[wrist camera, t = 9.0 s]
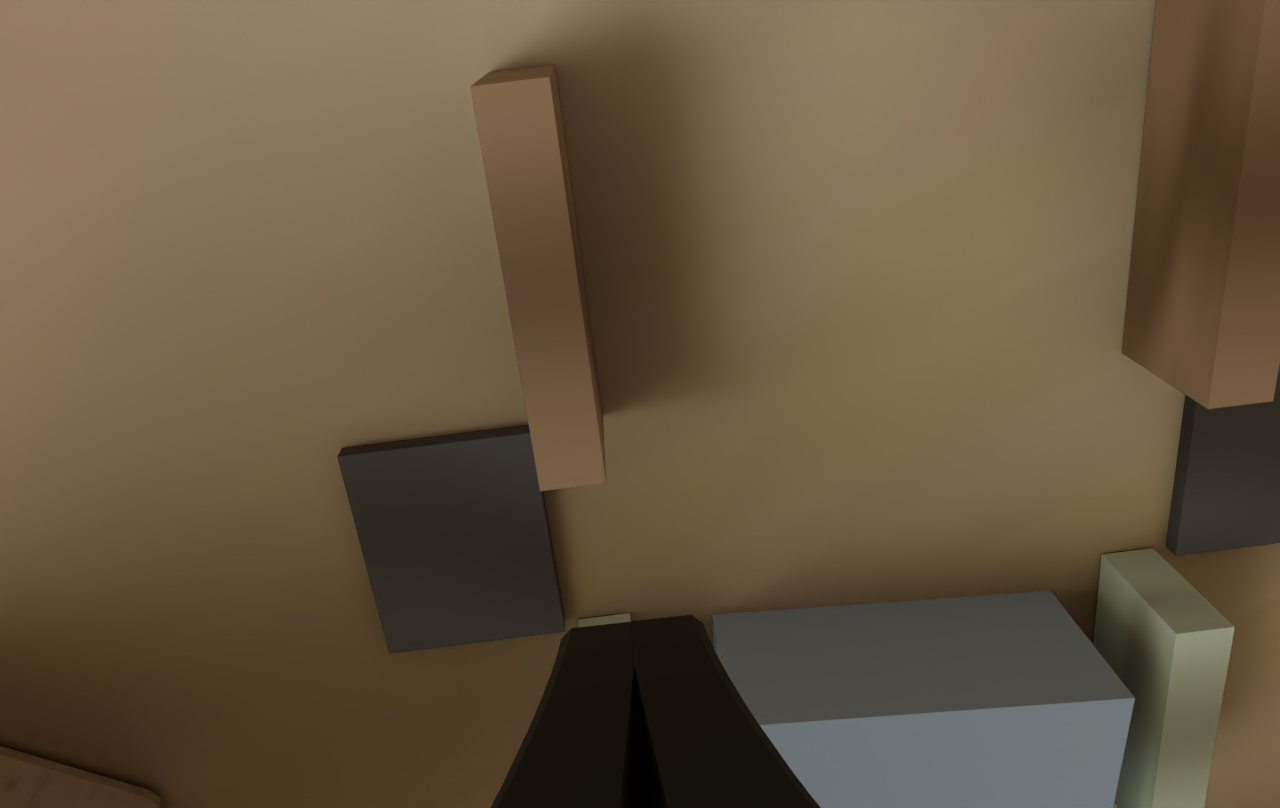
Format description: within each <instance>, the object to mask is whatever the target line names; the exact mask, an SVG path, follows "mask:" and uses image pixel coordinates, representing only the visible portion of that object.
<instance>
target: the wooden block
mask: <svg viewBox="0 0 1280 808" xmlns="http://www.w3.org/2000/svg"><path fill="white" fill-rule="evenodd" d="M0 808H160V797H159V796H157V795H156V794H155V793H153V792H152V791H151V790H149V789H145V788H142V787H138V786H135V785H132V784H128V783H125V782H121V781H118V780H115V779H111V778H108V777H104V776H101V775H98V774H94V773H91V772H87V771H84V770H81V769H77V768H74V767H70V766H67V765H64V764H60V763H57V762H54V761H50V760H47V759H43V758H40V757H37V756H33V755H30V754H26V753H23V752H20V751H16V750H13V749H9V748H6V747H3V746H0Z"/></svg>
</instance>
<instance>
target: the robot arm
mask: <svg viewBox="0 0 1280 808" xmlns="http://www.w3.org/2000/svg"><path fill="white" fill-rule="evenodd" d="M491 808H821V807H820V806H819V805H818V804H817V802H816V801H815V800H814V799H813V798H812V796H811V795H810V794H809V792H808V791H807V790H806V788H805V787H804V786H803V785H802V783H801V782H800V781H799V779H798V778H797V777H796V775H795V774H794V773H793V771H792V770H791V769H790V767H789V766H788V765H787V763H786V762H785V760H784V759H783V757H782V756H781V755H780V753H779V752H778V750H777V749H776V748H775V746H774V745H773V743H772V742H771V740H770V739H769V738H768V736H767V735H766V733H765V732H764V731H763V729H762V728H761V726H760V725H759V724H758V722H757V721H756V719H755V718H754V716H753V714H752V713H751V711H750V710H749V708H748V707H747V705H746V704H745V702H744V701H743V699H742V697H741V696H740V694H739V692H738V691H737V689H736V687H735V686H734V684H733V682H732V681H731V679H730V677H729V676H728V674H727V672H726V670H725V669H724V667H723V665H722V663H721V662H720V660H719V658H718V656H717V654H716V652H715V650H714V648H713V646H712V644H711V642H710V639H709V637H708V635H707V633H706V630H705V627H704V624H703V623H702V622H700V621H699V620H698V619H696V618H695V617H694V616H693V615H686V616H677V617H668V618H659V619H650V620H641V621H632V623H631V622H623V623H614V624H605V625H595V626H586V627H577V628H571V629H570V630H569V631H568V632H567V634H566V635H565V636H564V637H563V638H562V639H561V643H560V647H559V651H558V654H557V658H556V661H555V664H554V667H553V670H552V673H551V675H550V678H549V681H548V684H547V686H546V689H545V691H544V694H543V697H542V699H541V701H540V704H539V706H538V709H537V711H536V713H535V716H534V718H533V721H532V723H531V725H530V728H529V730H528V732H527V734H526V736H525V738H524V740H523V743H522V745H521V747H520V749H519V751H518V753H517V755H516V757H515V760H514V762H513V764H512V766H511V768H510V770H509V772H508V774H507V777H506V779H505V781H504V783H503V785H502V787H501V789H500V791H499V793H498V795H497V797H496V799H495V801H494V803H493V804H492V806H491Z"/></svg>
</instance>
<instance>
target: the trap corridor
mask: <svg viewBox="0 0 1280 808" xmlns="http://www.w3.org/2000/svg"><path fill="white" fill-rule="evenodd" d="M471 92H472V98H473V104H474V110H475V115H476V121H477V127H478V133H479V139H480V145H481V150H482V156H483V162H484V168H485V174H486V179H487V185H488V191H489V197H490V203H491V209H492V214H493V220H494V226H495V232H496V238H497V244H498V249H499V255H500V261H501V267H502V273H503V278H504V284H505V290H506V296H507V302H508V308H509V313H510V319H511V325H512V331H513V337H514V342H515V348H516V354H517V360H518V366H519V372H520V377H521V383H522V389H523V395H524V401H525V407H526V412H527V418H528V424H529V425H528V426H520V427H511V428H503V429H495V430H487V431H479V432H471V433H462V434H454V435H446V436H438V437H430V438H422V439H414V440H405V441H397V442H389V443H381V444H373V445H365V446H356V447H348V448H342V449H341V451H340V453H339V455H338V461H339V465H340V469H341V472H342V476H343V480H344V484H345V487H346V491H347V495H348V499H349V503H350V506H351V510H352V514H353V518H354V522H355V525H356V529H357V533H358V537H359V541H360V544H361V548H362V552H363V556H364V559H365V563H366V567H367V571H368V575H369V578H370V582H371V586H372V590H373V594H374V597H375V601H376V605H377V609H378V613H379V616H380V620H381V624H382V628H383V631H384V635H385V639H386V643H387V647H388V650H389V653H397V652H405V651H413V650H421V649H430V648H438V647H446V646H454V645H462V644H470V643H478V642H486V641H494V640H502V639H510V638H518V637H526V636H534V635H542V634H550V633H558V632H565V617H564V611H563V605H562V599H561V593H560V587H559V581H558V576H557V570H556V564H555V558H554V552H553V546H552V540H551V534H550V529H549V523H548V517H547V511H546V505H545V499H544V493H543V491H548V490H556V489H564V488H572V487H580V486H588V485H596V484H604V483H606V471H605V450H604V428H603V413H602V406H601V399H600V391H599V384H598V377H597V369H596V362H595V355H594V347H593V340H592V333H591V326H590V318H589V311H588V304H587V296H586V289H585V282H584V274H583V267H582V260H581V253H580V245H579V238H578V231H577V223H576V216H575V209H574V201H573V194H572V187H571V180H570V172H569V165H568V158H567V150H566V143H565V136H564V128H563V121H562V114H561V107H560V99H559V92H558V85H557V77H556V70H555V65H547V66H538V67H530V68H521V69H513V70H505V71H496V72H489V73H487V74H486V75H485V76H483V77H482V78H481V79H479V80H478V81H477V82H476V83H474V84H473V85H472V86H471ZM1122 353H1123V354H1124V355H1126V356H1127V357H1129V358H1131V359H1132V360H1134V361H1135V362H1137V363H1138V364H1140V365H1141V366H1143V367H1144V368H1146V369H1147V370H1149V371H1150V372H1152V373H1153V374H1155V375H1156V376H1158V377H1160V378H1161V379H1163V380H1164V381H1166V382H1167V383H1169V384H1170V385H1172V386H1173V387H1175V388H1176V389H1178V390H1179V391H1181V392H1182V393H1184V394H1185V403H1184V410H1183V418H1182V426H1181V433H1180V441H1179V449H1178V457H1177V464H1176V472H1175V480H1174V488H1173V495H1172V503H1171V511H1170V518H1169V526H1168V534H1167V542H1166V547H1167V548H1168V549H1169V550H1170V551H1171V552H1172V553H1173V554H1174V555H1176V556H1178V555H1186V554H1194V553H1202V552H1210V551H1218V550H1226V549H1234V548H1242V547H1250V546H1258V545H1266V544H1274V543H1280V0H1156V9H1155V20H1154V30H1153V40H1152V50H1151V60H1150V70H1149V80H1148V91H1147V101H1146V111H1145V121H1144V131H1143V141H1142V152H1141V162H1140V172H1139V182H1138V192H1137V202H1136V212H1135V223H1134V233H1133V243H1132V253H1131V263H1130V273H1129V283H1128V294H1127V304H1126V314H1125V324H1124V334H1123V344H1122ZM623 622H631V618H630V613H626V614H618V615H610V616H602V617H594V618H586V619H578V627H586V626H595V625H605V624H614V623H623ZM1234 629H1235V626H1234V625H1233V624H1231V623H1230V622H1229V621H1228V620H1227V619H1226V618H1225V617H1224V616H1223V615H1222V614H1221V613H1220V612H1219V611H1218V610H1217V609H1216V608H1215V607H1214V606H1213V605H1212V604H1211V603H1210V602H1209V601H1208V600H1207V599H1205V598H1204V597H1203V596H1202V595H1201V594H1200V593H1199V592H1198V591H1197V590H1196V589H1195V588H1194V587H1193V586H1192V585H1191V584H1190V583H1189V582H1188V581H1187V580H1186V579H1185V578H1184V577H1183V576H1182V575H1181V574H1180V573H1178V572H1177V571H1176V570H1175V569H1174V568H1173V567H1172V566H1171V565H1170V564H1169V563H1168V562H1167V561H1166V560H1165V559H1164V558H1163V557H1162V556H1161V555H1160V554H1159V553H1158V552H1157V551H1156V550H1155V549H1154V548H1149V549H1141V550H1133V551H1125V552H1117V553H1109V554H1102V557H1101V568H1100V578H1099V588H1098V598H1097V608H1096V618H1095V628H1094V639H1093V645H1094V647H1095V648H1096V649H1097V650H1098V652H1099V653H1100V654H1101V656H1102V657H1103V658H1104V659H1105V661H1106V662H1107V663H1108V664H1109V666H1110V667H1111V668H1112V669H1113V671H1114V672H1115V673H1116V675H1117V676H1118V677H1119V678H1120V680H1121V681H1122V682H1123V683H1124V685H1125V686H1126V687H1127V689H1128V690H1129V691H1130V692H1131V694H1132V695H1133V696H1134V697H1135V701H1134V706H1133V711H1132V716H1131V721H1130V726H1129V731H1128V736H1127V740H1126V745H1125V750H1124V755H1123V760H1122V765H1121V770H1120V775H1119V780H1118V785H1117V790H1116V795H1115V800H1114V802H1115V803H1116V805H1117V806H1118V808H1204V805H1205V800H1206V794H1207V788H1208V782H1209V776H1210V770H1211V764H1212V758H1213V752H1214V747H1215V741H1216V735H1217V729H1218V723H1219V717H1220V711H1221V705H1222V700H1223V694H1224V688H1225V682H1226V676H1227V670H1228V664H1229V658H1230V652H1231V647H1232V641H1233V635H1234Z"/></svg>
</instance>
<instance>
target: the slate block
mask: <svg viewBox="0 0 1280 808" xmlns="http://www.w3.org/2000/svg"><path fill="white" fill-rule="evenodd" d="M712 632H713V648H714V650H715V652H716V654H717V656H718V658H719V660H720V662H721V663H722V665H723V667H724V669H725V670H726V672H727V674H728V676H729V677H730V679H731V681H732V682H733V684H734V686H735V687H736V689H737V691H738V692H739V694H740V696H741V697H742V699H743V701H744V702H745V704H746V705H747V707H748V708H749V710H750V711H751V713H752V714H753V716H754V718H755V719H756V721H757V722H758V724H759V725H760V726H761V728H762V729H763V731H764V732H765V733H766V735H767V736H768V738H769V739H770V740H771V742H772V743H773V745H774V746H775V748H776V749H777V750H778V752H779V753H780V755H781V756H782V757H783V759H784V760H785V762H786V763H787V765H788V766H789V767H790V769H791V770H792V771H793V773H794V774H795V775H796V777H797V778H798V779H799V781H800V782H801V783H802V785H803V786H804V787H805V788H806V790H807V791H808V792H809V794H810V795H811V796H812V798H813V799H814V800H815V801H816V802H817V804H818V805H819V806H820V807H821V808H1113V805H1114V800H1115V795H1116V790H1117V785H1118V780H1119V775H1120V770H1121V765H1122V760H1123V755H1124V750H1125V745H1126V740H1127V736H1128V731H1129V726H1130V721H1131V716H1132V711H1133V706H1134V701H1135V697H1134V696H1133V695H1132V694H1131V692H1130V691H1129V690H1128V689H1127V687H1126V686H1125V685H1124V683H1123V682H1122V681H1121V680H1120V678H1119V677H1118V676H1117V675H1116V673H1115V672H1114V671H1113V669H1112V668H1111V667H1110V666H1109V664H1108V663H1107V662H1106V661H1105V659H1104V658H1103V657H1102V656H1101V654H1100V653H1099V652H1098V650H1097V649H1096V648H1095V647H1094V645H1093V644H1092V643H1091V642H1090V640H1089V639H1088V638H1087V636H1086V635H1085V634H1084V633H1083V631H1082V630H1081V629H1080V628H1079V626H1078V625H1077V624H1076V622H1075V621H1074V620H1073V619H1072V617H1071V616H1070V615H1069V614H1068V612H1067V611H1066V610H1065V609H1064V607H1063V606H1062V605H1061V603H1060V602H1059V601H1058V600H1057V598H1056V597H1055V596H1054V595H1053V593H1052V592H1051V591H1037V592H1022V593H1008V594H994V595H980V596H966V597H951V598H937V599H923V600H909V601H894V602H880V603H866V604H852V605H837V606H823V607H809V608H795V609H780V610H766V611H752V612H738V613H723V614H712Z"/></svg>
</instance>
